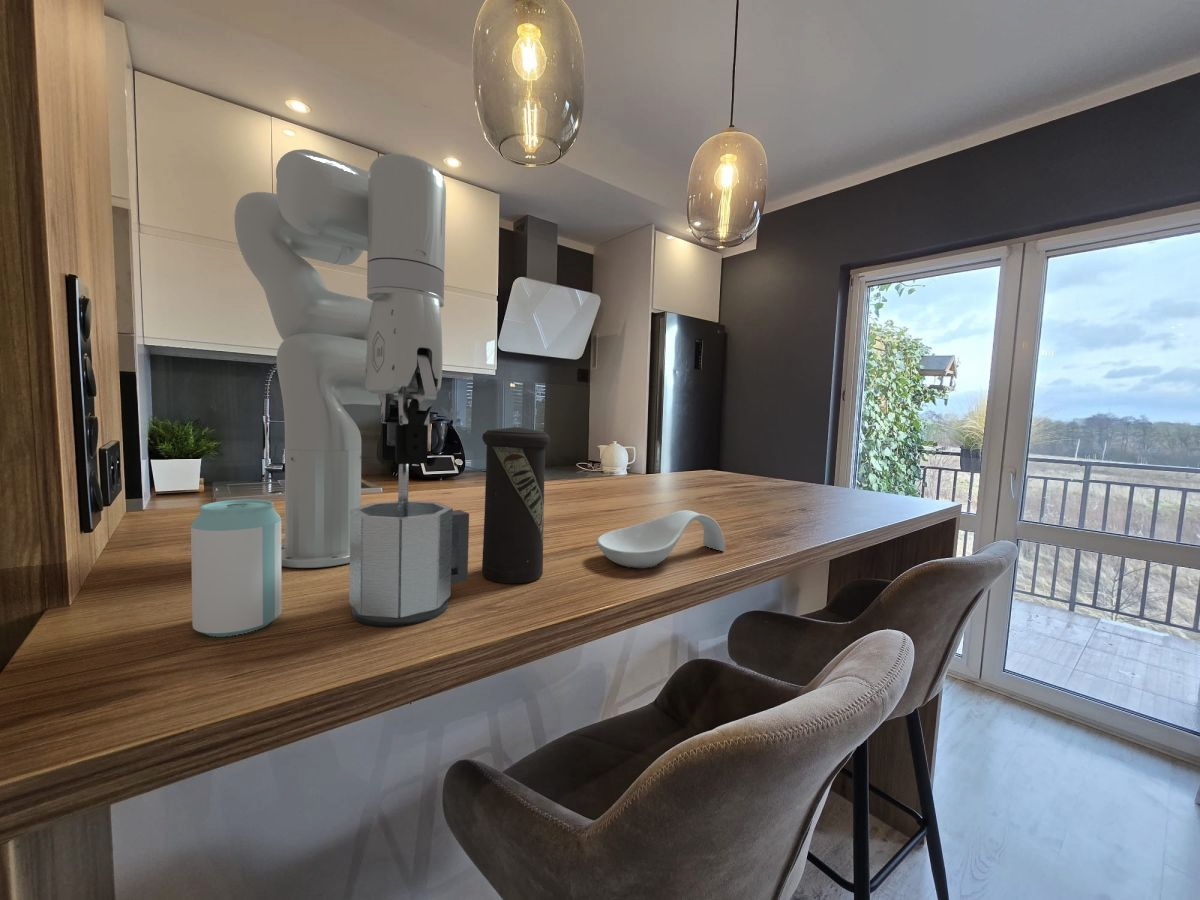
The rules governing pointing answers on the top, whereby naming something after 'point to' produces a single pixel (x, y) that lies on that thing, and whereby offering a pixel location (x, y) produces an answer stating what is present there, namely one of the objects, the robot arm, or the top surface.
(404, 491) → the plunger
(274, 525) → the can
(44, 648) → the top surface
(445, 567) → the octagonal grey mug
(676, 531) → the spoon rest
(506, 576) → the container
